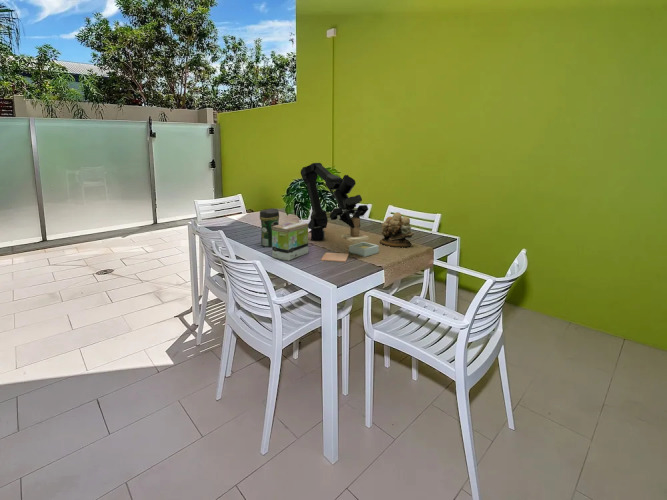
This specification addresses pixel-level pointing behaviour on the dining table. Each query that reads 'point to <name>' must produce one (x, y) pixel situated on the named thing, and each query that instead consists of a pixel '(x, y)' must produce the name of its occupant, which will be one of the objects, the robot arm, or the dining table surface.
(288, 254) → the tea box
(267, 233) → the coffee jar
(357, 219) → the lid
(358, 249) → the pale green square dish
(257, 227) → the dining table surface
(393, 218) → the brown lumpy sculpture
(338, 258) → the tile
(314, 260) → the dining table surface
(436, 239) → the dining table surface
